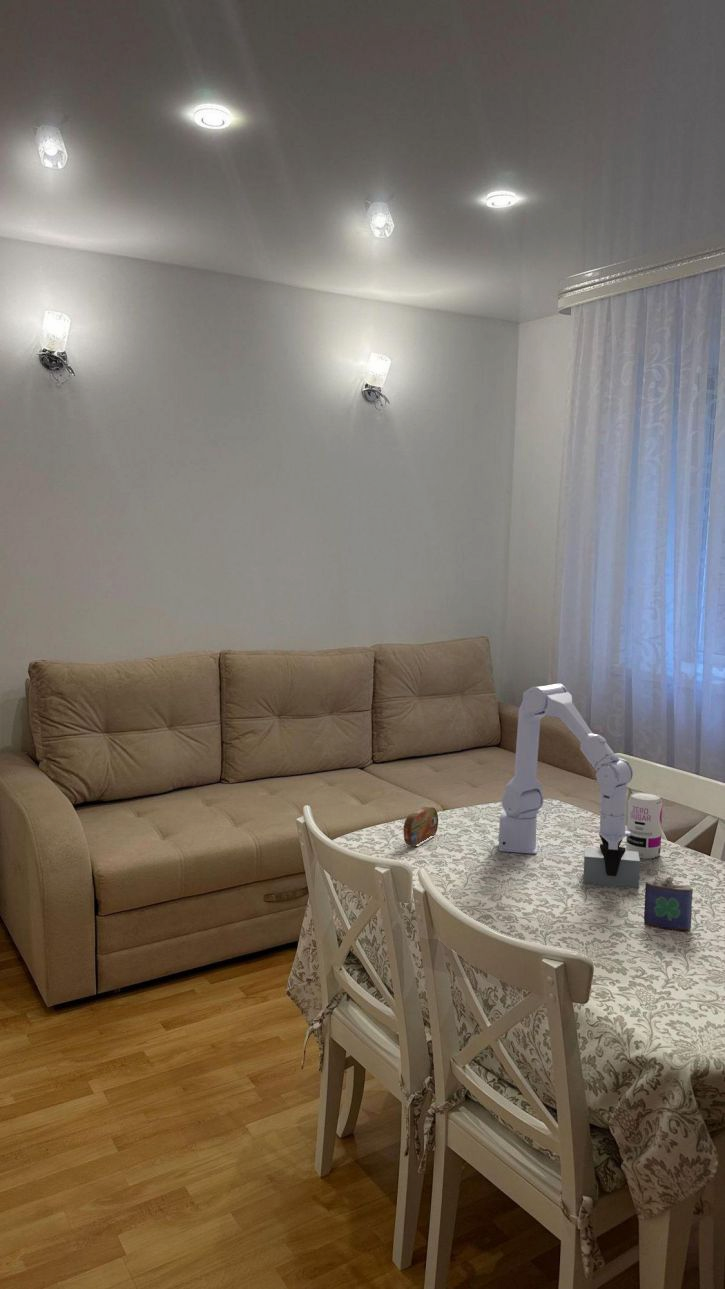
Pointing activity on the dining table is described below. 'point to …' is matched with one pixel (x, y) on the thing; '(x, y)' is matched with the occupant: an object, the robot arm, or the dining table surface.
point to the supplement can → (644, 824)
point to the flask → (668, 905)
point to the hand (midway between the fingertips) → (610, 869)
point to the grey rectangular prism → (597, 870)
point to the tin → (420, 825)
